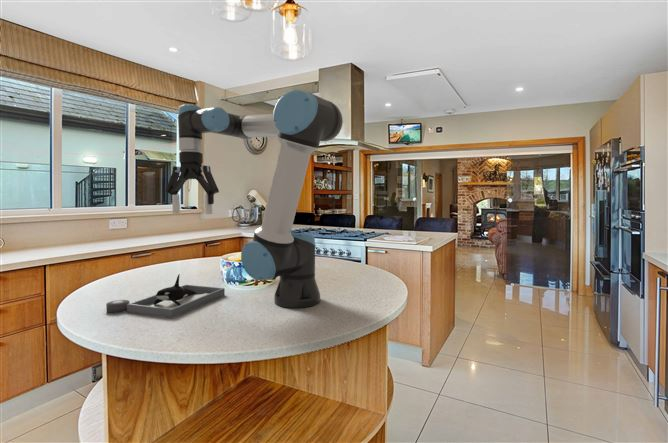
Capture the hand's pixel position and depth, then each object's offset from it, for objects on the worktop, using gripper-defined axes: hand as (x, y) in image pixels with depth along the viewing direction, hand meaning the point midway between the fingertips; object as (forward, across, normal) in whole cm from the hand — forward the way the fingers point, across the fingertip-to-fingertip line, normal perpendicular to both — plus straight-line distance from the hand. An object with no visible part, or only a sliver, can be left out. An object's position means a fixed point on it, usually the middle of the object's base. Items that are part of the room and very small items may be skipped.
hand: (192, 213), depth 126 cm
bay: (+29, -2, +10) cm, 30 cm away
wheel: (+29, +10, +22) cm, 38 cm away
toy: (+28, -2, +10) cm, 30 cm away
